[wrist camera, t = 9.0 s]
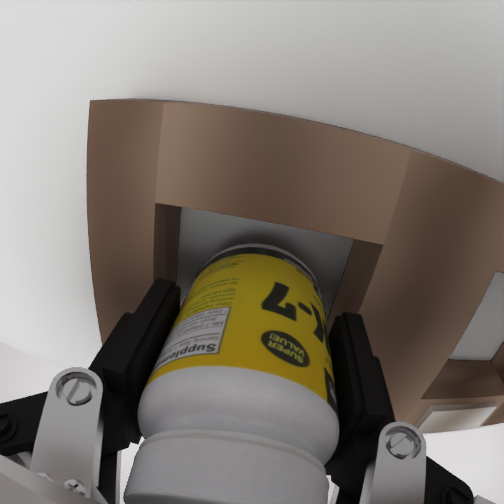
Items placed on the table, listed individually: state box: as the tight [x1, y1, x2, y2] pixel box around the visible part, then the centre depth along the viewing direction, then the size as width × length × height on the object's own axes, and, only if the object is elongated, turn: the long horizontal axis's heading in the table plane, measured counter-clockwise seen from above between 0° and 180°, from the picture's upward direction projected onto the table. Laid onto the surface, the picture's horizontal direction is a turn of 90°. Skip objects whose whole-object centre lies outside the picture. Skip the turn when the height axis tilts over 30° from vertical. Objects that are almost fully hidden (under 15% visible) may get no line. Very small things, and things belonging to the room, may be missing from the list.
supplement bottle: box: [123, 243, 339, 504], centre depth 8 cm, size 5×5×8 cm
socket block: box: [87, 99, 504, 433], centre depth 12 cm, size 24×13×3 cm, turn 81°
